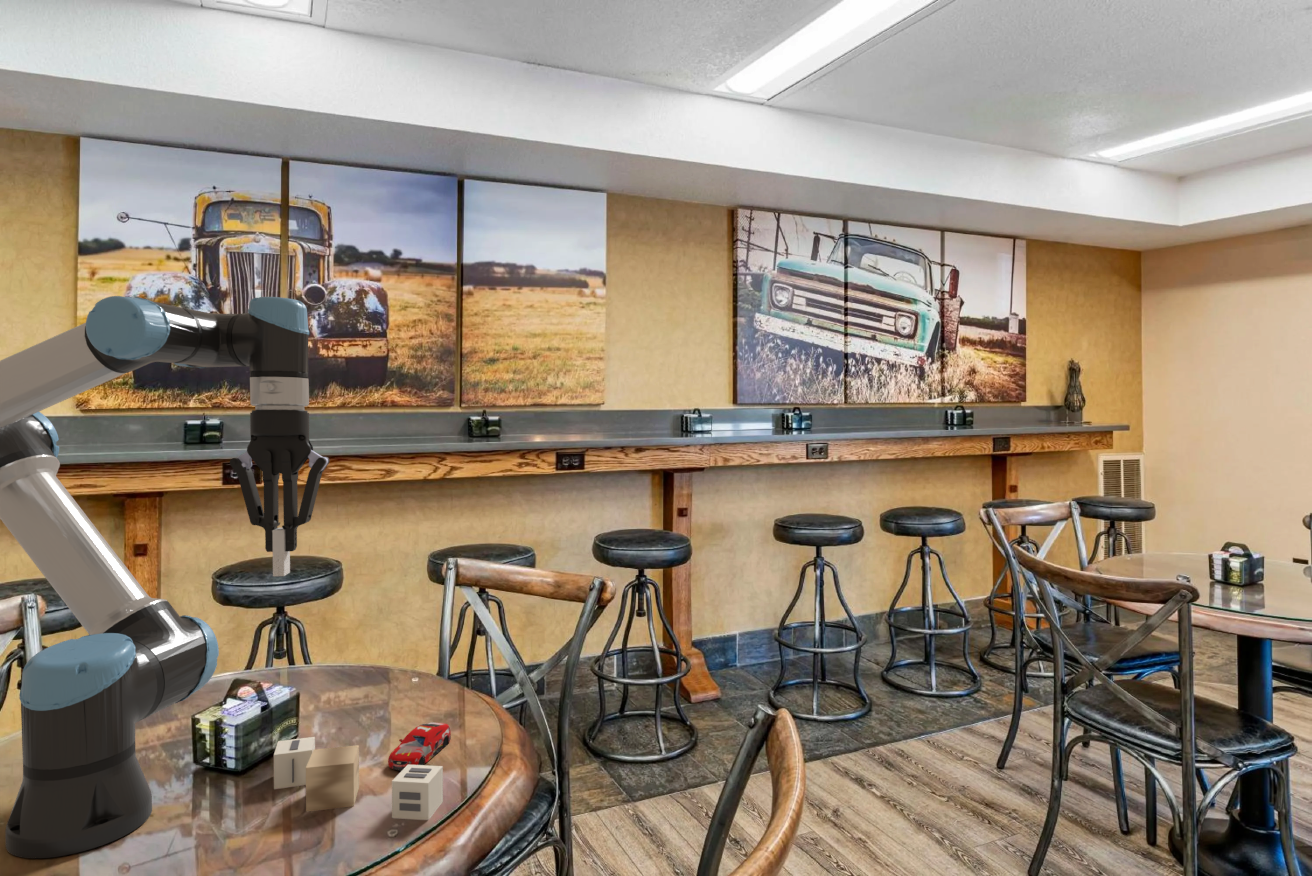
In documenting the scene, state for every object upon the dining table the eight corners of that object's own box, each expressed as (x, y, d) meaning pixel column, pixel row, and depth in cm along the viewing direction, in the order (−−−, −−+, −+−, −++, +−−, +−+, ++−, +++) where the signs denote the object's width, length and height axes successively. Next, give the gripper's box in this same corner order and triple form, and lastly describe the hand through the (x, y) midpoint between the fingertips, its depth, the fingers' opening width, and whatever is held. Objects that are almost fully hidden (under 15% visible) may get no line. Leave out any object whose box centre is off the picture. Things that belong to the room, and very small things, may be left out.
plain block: (306, 812, 104) (305, 767, 104) (314, 791, 110) (313, 749, 110) (353, 806, 106) (353, 763, 105) (359, 786, 111) (358, 745, 111)
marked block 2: (391, 819, 102) (391, 780, 102) (408, 800, 107) (407, 763, 107) (428, 821, 102) (428, 782, 102) (442, 802, 107) (442, 765, 107)
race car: (414, 777, 115) (413, 750, 115) (381, 773, 116) (381, 747, 116) (457, 741, 128) (456, 716, 128) (427, 737, 129) (427, 713, 129)
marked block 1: (273, 791, 110) (273, 755, 110) (278, 774, 115) (278, 740, 115) (312, 786, 112) (311, 750, 111) (315, 769, 117) (314, 735, 117)
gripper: (220, 407, 105) (221, 581, 106) (321, 408, 107) (322, 578, 108) (240, 408, 113) (242, 570, 113) (335, 409, 115) (336, 568, 115)
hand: (281, 574), depth 111 cm, fingers closed
